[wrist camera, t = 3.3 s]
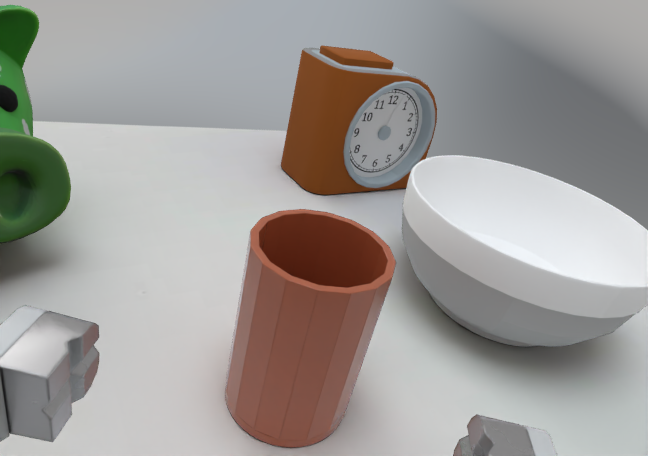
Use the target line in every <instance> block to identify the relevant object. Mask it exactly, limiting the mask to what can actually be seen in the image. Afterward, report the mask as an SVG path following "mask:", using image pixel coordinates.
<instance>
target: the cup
mask: <svg viewBox="0 0 648 456" xmlns="http://www.w3.org/2000/svg"><path fill="white" fill-rule="evenodd" d="M395 265H396V261H395V259H394V256H393V254H392V252H391V250H390V247H389V246H388V245H387V244H386V243H385V242H384V241H383V240H382V239H381V238H380V237H379V236H378V235H376V234H375V233H374V232H373V231H371V230H369V229H368V228H366V227H364V226H362V225H360V224H359V223H357V222H355V221H353V220H350V219H347V218H344V217H341V216H338V215H335V214H332V213H328V212H321V211H313V210H306V209H299V210H286V211H278V212H276V213H273V214H271V215H268V216H265V217H263V218H261V219H260V220H259V221H258V222H257V224H256V225H255V226H254V227H253V228H252V229H251V231H250V236H249V242H248V248H247V254H246V261H245V267H244V273H243V279H242V285H241V291H240V297H239V303H238V309H237V315H236V321H235V327H234V334H233V340H232V346H231V352H230V358H229V364H228V370H227V381H226V388H225V398H226V403H227V406H228V409H229V411H230V413H231V415H232V417H233V418H234V420H235V421H236V422H237V424H238V425H239V426H240V427H241V428H242V429H243V430H245V431H246V432H247V433H249V434H250V435H251V436H253V437H255V438H256V439H258V440H261V441H263V442H265V443H268V444H271V445H275V446H280V447H303V446H308V445H312V444H315V443H317V442H319V441H322V440H323V439H325V438H326V437H328V436H329V435H330V434H332V433H333V432H334V431H335V430H336V428H337V427H338V426H339V424H340V422H341V421H342V418H343V416H344V414H345V411H346V409H347V406H348V403H349V400H350V397H351V394H352V391H353V389H354V386H355V383H356V380H357V377H358V374H359V371H360V369H361V366H362V363H363V360H364V357H365V354H366V351H367V348H368V346H369V343H370V340H371V337H372V334H373V331H374V328H375V326H376V323H377V320H378V317H379V314H380V311H381V308H382V306H383V303H384V300H385V297H386V294H387V291H388V288H389V285H390V283H391V280H392V277H393V273H394V269H395Z"/></svg>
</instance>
